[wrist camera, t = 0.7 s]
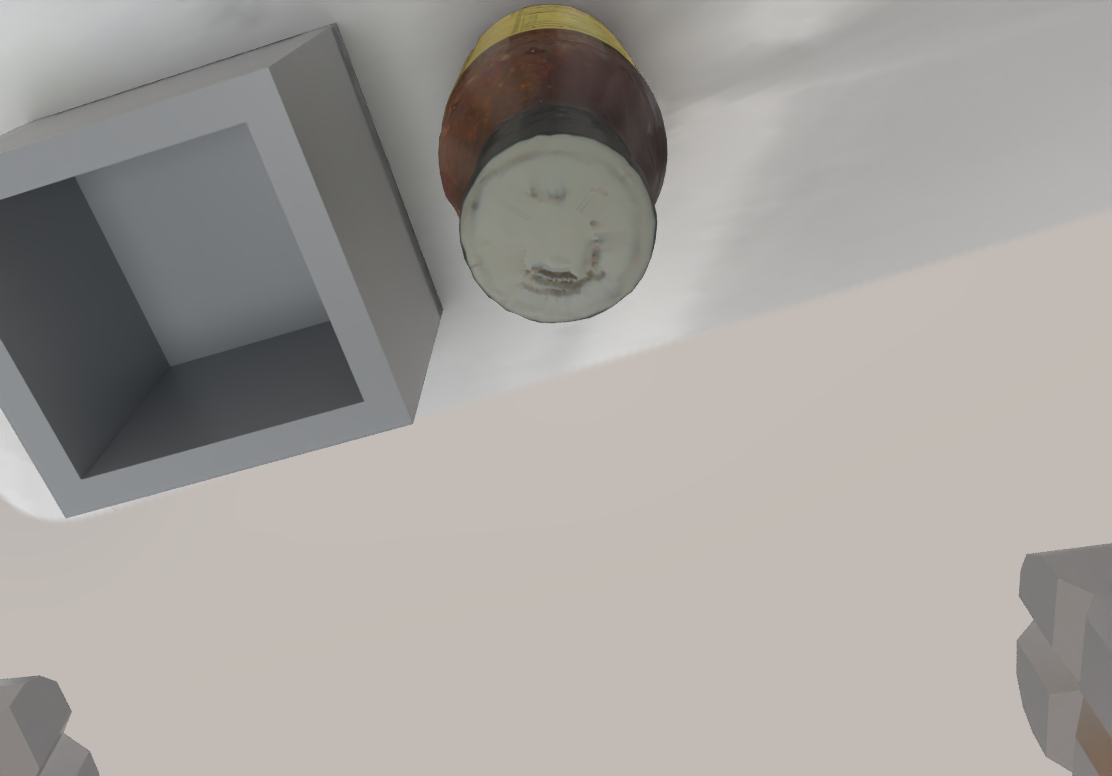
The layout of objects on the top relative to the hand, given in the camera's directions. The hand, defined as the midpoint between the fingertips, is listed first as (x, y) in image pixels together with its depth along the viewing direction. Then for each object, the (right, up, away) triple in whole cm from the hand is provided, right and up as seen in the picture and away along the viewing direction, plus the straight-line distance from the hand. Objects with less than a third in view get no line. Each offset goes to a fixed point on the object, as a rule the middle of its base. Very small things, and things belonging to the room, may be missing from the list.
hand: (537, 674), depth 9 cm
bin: (-12, +9, +33) cm, 36 cm away
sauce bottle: (0, +14, +31) cm, 34 cm away
